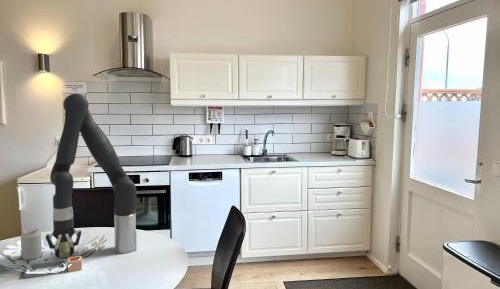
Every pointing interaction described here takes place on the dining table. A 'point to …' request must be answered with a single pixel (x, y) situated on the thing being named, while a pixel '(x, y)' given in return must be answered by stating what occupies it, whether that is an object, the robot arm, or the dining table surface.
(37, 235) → the can
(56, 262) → the trough
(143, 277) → the dining table surface
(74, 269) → the cup
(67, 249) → the cell
